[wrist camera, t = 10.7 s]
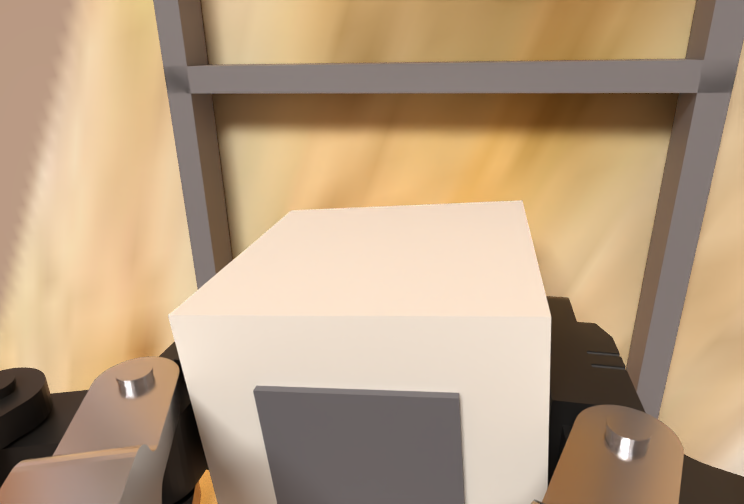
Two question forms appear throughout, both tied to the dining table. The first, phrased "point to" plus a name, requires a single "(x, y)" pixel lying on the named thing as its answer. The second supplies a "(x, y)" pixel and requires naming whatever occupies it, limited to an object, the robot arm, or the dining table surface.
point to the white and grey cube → (375, 359)
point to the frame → (684, 76)
